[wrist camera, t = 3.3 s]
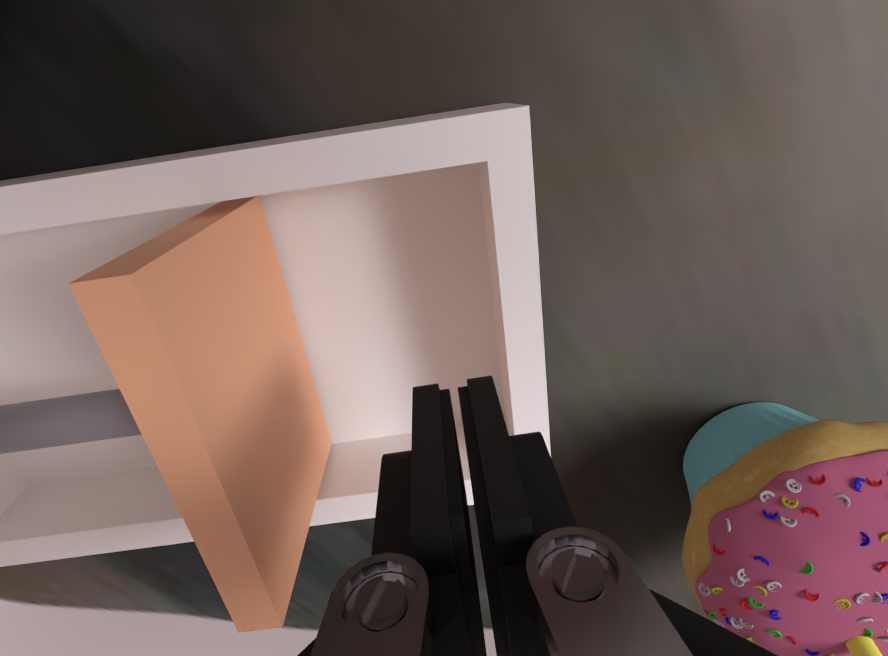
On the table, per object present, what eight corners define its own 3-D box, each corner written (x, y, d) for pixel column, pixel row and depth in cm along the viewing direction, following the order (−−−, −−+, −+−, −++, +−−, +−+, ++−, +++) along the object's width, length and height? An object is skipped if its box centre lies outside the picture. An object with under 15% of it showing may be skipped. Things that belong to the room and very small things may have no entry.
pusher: (259, 194, 14) (131, 274, 8) (331, 441, 17) (282, 627, 11) (10, 232, 14) (-302, 338, 8) (133, 468, 17) (-19, 664, 11)
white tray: (505, 102, 14) (529, 105, 11) (531, 425, 19) (553, 494, 15) (-152, 203, 14) (-314, 235, 11) (34, 492, 19) (-44, 572, 16)
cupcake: (762, 551, 22) (1095, 1003, 11) (591, 500, 20) (784, 971, 9) (904, 394, 19) (1578, 818, 8) (715, 319, 17) (1228, 720, 6)
